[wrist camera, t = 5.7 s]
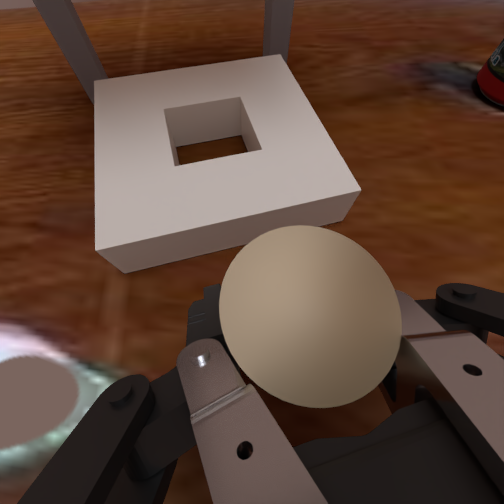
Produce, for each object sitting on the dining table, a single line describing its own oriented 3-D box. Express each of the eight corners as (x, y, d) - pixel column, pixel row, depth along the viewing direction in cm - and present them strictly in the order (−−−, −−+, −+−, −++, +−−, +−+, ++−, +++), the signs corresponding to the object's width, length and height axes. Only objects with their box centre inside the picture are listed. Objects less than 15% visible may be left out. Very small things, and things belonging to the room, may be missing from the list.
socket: (342, 220, 19) (361, 190, 15) (124, 273, 17) (95, 250, 13) (276, 93, 25) (280, 54, 22) (115, 120, 23) (94, 80, 20)
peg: (225, 367, 13) (187, 359, 5) (250, 299, 15) (255, 206, 7) (295, 397, 13) (390, 446, 4) (314, 323, 15) (409, 254, 6)
